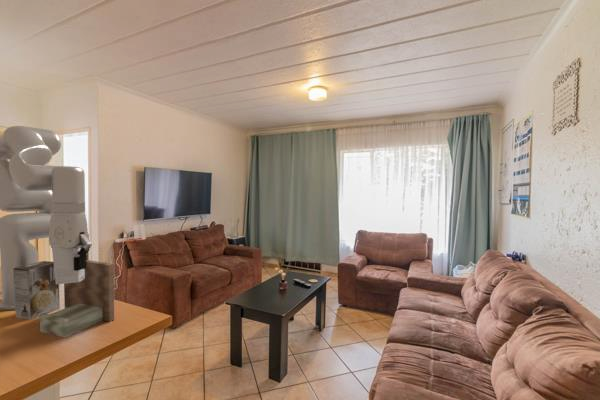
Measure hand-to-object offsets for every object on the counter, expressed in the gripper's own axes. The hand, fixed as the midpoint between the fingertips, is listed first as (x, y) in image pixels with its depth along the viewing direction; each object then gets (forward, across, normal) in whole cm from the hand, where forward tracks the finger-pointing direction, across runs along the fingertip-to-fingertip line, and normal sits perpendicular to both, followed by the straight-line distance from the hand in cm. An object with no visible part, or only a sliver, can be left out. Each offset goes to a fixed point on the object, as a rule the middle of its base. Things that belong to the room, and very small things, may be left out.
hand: (70, 267), depth 85 cm
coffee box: (+18, -19, +2) cm, 27 cm away
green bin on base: (+18, -2, +1) cm, 18 cm away
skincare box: (+4, 0, 0) cm, 4 cm away
